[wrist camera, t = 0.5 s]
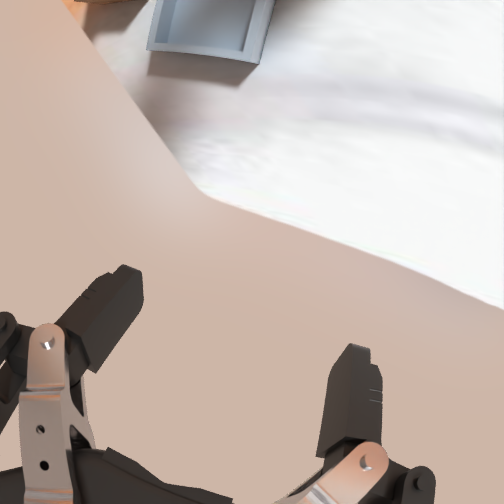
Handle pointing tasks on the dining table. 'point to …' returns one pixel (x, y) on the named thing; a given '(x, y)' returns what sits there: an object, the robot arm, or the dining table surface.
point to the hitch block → (101, 1)
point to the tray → (211, 27)
